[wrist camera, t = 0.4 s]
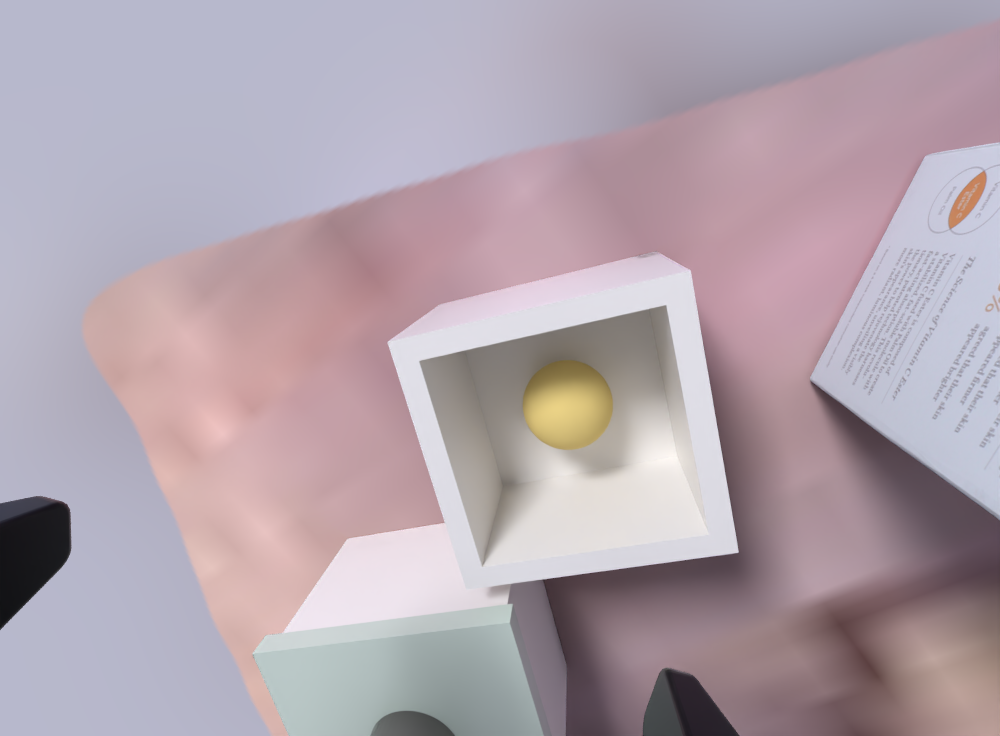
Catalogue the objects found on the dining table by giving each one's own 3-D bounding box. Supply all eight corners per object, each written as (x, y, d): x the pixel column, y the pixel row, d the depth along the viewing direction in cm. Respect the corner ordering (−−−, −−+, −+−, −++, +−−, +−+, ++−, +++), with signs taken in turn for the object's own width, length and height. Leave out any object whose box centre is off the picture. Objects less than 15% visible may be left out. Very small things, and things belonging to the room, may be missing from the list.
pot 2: (566, 666, 24) (564, 806, 19) (401, 683, 26) (352, 817, 20) (523, 510, 23) (505, 612, 17) (347, 538, 24) (276, 641, 18)
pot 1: (694, 458, 21) (738, 552, 15) (494, 492, 22) (466, 590, 17) (656, 251, 19) (690, 270, 13) (440, 304, 21) (387, 342, 15)
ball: (617, 420, 20) (625, 456, 17) (537, 435, 20) (531, 472, 18) (600, 341, 19) (604, 365, 16) (517, 360, 20) (507, 386, 17)
